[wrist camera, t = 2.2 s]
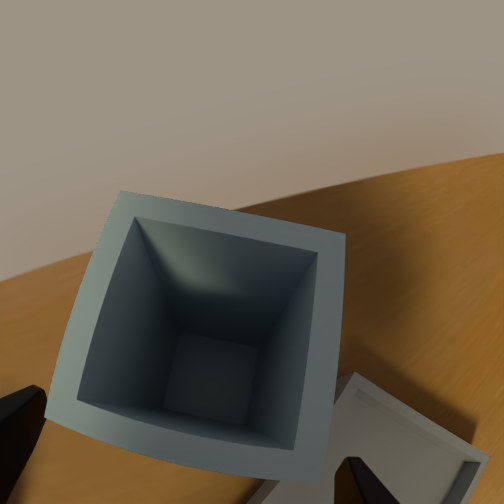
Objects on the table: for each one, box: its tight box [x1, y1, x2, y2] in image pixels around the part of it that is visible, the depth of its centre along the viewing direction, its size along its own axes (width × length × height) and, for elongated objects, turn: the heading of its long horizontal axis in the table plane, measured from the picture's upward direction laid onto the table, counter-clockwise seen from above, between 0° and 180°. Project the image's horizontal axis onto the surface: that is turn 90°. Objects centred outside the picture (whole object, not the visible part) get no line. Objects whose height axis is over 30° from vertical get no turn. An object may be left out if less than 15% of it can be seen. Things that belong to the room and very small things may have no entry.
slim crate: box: [44, 191, 346, 483], centre depth 12 cm, size 6×6×12 cm
